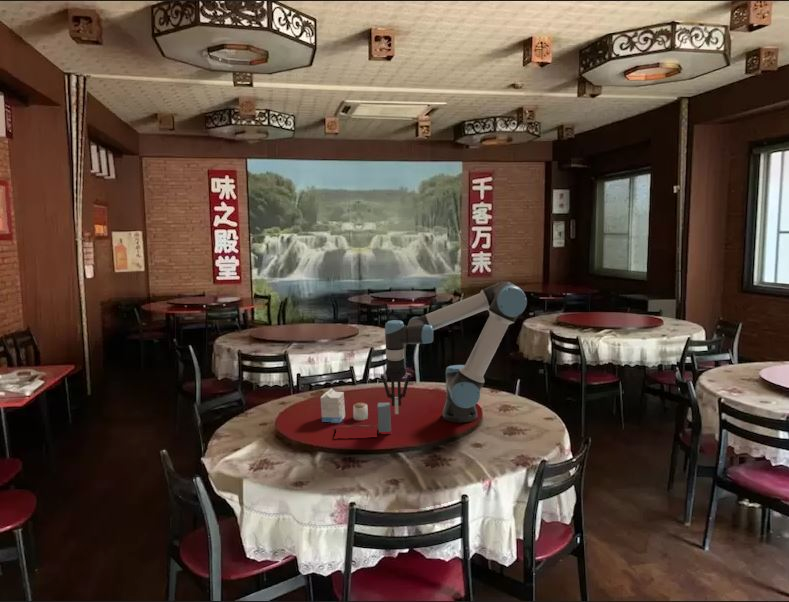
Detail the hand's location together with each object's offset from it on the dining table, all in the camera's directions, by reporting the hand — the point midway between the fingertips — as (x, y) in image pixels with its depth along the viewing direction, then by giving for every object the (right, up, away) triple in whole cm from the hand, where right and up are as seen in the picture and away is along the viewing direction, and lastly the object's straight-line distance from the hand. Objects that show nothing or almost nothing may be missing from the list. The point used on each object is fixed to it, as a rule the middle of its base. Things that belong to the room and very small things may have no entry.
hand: (396, 412), depth 246 cm
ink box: (-28, -6, +17) cm, 34 cm away
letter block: (-5, -8, +1) cm, 10 cm away
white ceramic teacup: (-16, -6, +18) cm, 25 cm away
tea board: (-17, -9, +2) cm, 19 cm away
